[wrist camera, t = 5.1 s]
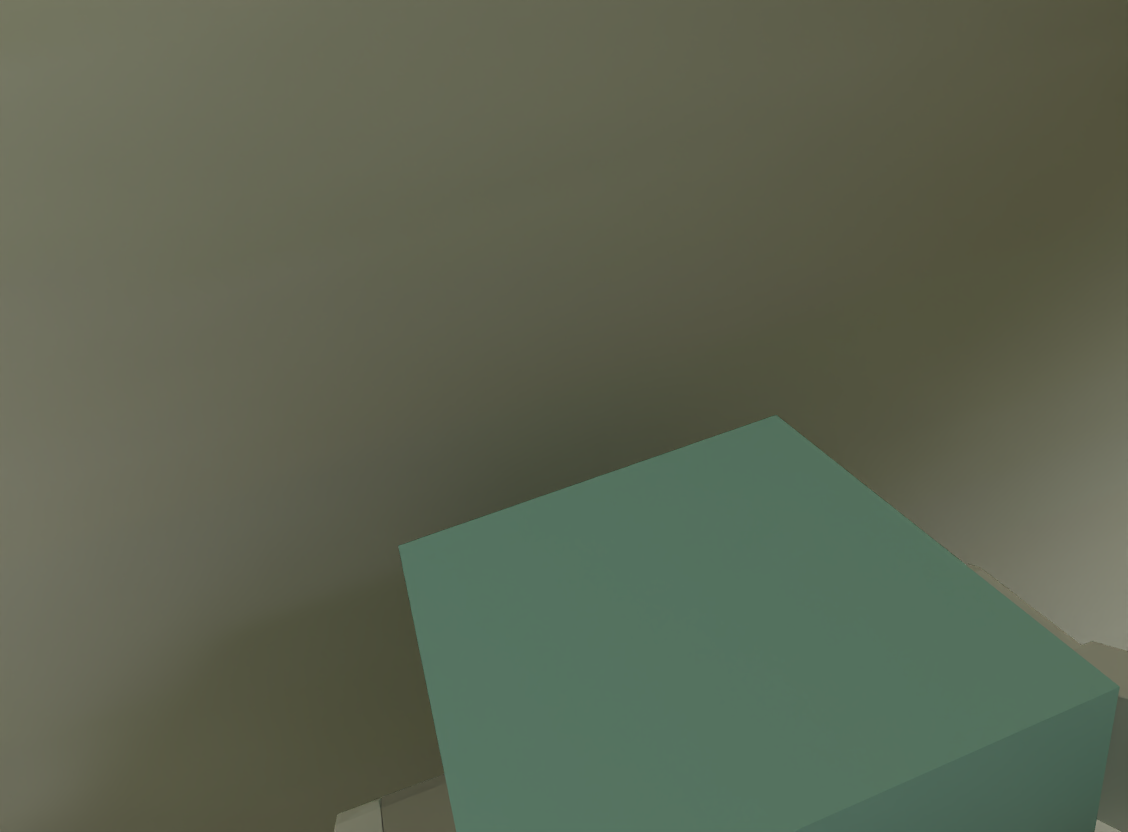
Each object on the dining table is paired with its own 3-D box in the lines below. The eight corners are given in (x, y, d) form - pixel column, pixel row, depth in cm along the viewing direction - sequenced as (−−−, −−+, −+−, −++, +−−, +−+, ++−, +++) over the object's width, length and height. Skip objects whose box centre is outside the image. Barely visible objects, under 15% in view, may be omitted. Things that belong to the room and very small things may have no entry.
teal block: (398, 546, 10) (483, 969, 5) (775, 414, 10) (1119, 685, 6) (499, 811, 12) (616, 1255, 8) (800, 687, 13) (1060, 1023, 8)
